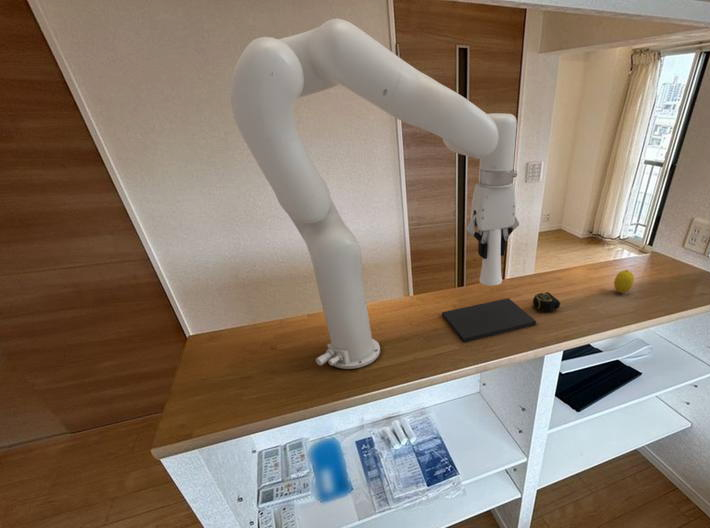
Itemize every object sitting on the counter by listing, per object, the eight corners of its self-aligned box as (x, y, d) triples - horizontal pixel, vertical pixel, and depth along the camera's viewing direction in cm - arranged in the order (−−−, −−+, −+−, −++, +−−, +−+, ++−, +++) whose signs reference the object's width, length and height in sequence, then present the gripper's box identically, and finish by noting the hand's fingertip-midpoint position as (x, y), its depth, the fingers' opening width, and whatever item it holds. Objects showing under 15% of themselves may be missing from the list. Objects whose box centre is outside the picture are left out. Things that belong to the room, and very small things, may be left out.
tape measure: (559, 311, 109) (562, 300, 107) (539, 315, 107) (540, 303, 105) (548, 301, 114) (550, 290, 112) (528, 304, 112) (529, 293, 110)
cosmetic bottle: (504, 278, 100) (510, 191, 87) (499, 287, 95) (504, 197, 82) (482, 275, 101) (485, 190, 88) (476, 284, 96) (478, 195, 84)
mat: (463, 342, 95) (463, 338, 95) (442, 315, 106) (441, 312, 106) (535, 324, 103) (536, 321, 102) (508, 301, 114) (508, 297, 113)
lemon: (633, 294, 118) (640, 270, 114) (622, 298, 116) (629, 275, 111) (618, 287, 122) (625, 265, 118) (607, 292, 120) (614, 268, 115)
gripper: (519, 172, 89) (512, 246, 99) (455, 177, 83) (455, 255, 94) (536, 178, 83) (527, 255, 94) (469, 184, 78) (467, 266, 88)
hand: (491, 254), depth 94 cm, fingers closed on cosmetic bottle, 4 cm apart
